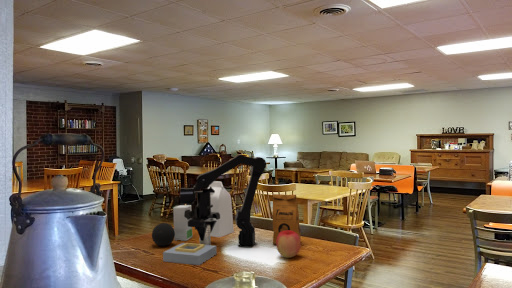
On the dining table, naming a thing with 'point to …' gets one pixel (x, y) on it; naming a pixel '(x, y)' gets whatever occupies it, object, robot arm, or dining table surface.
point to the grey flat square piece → (189, 253)
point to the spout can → (206, 236)
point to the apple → (288, 243)
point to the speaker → (163, 234)
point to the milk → (221, 210)
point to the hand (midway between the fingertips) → (205, 239)
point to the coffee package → (285, 215)
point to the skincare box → (181, 223)
